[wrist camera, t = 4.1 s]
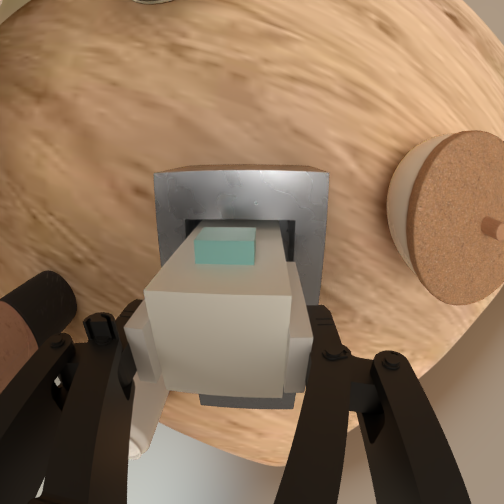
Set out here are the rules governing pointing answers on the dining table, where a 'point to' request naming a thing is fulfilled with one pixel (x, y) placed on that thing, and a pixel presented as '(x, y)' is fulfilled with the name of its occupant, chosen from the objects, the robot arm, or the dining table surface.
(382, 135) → the dining table surface
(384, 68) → the dining table surface
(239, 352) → the plug
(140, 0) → the coffee can
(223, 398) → the grey stepped socket block
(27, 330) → the travel mug
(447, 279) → the lidded bowl
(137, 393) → the beverage can
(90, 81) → the dining table surface
